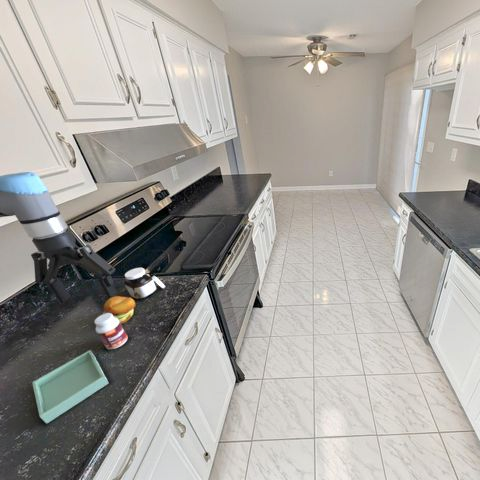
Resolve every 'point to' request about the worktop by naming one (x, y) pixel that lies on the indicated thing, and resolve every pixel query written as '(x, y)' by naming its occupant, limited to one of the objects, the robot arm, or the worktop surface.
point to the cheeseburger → (120, 308)
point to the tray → (68, 386)
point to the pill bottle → (110, 331)
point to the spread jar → (141, 283)
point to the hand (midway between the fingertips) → (89, 297)
